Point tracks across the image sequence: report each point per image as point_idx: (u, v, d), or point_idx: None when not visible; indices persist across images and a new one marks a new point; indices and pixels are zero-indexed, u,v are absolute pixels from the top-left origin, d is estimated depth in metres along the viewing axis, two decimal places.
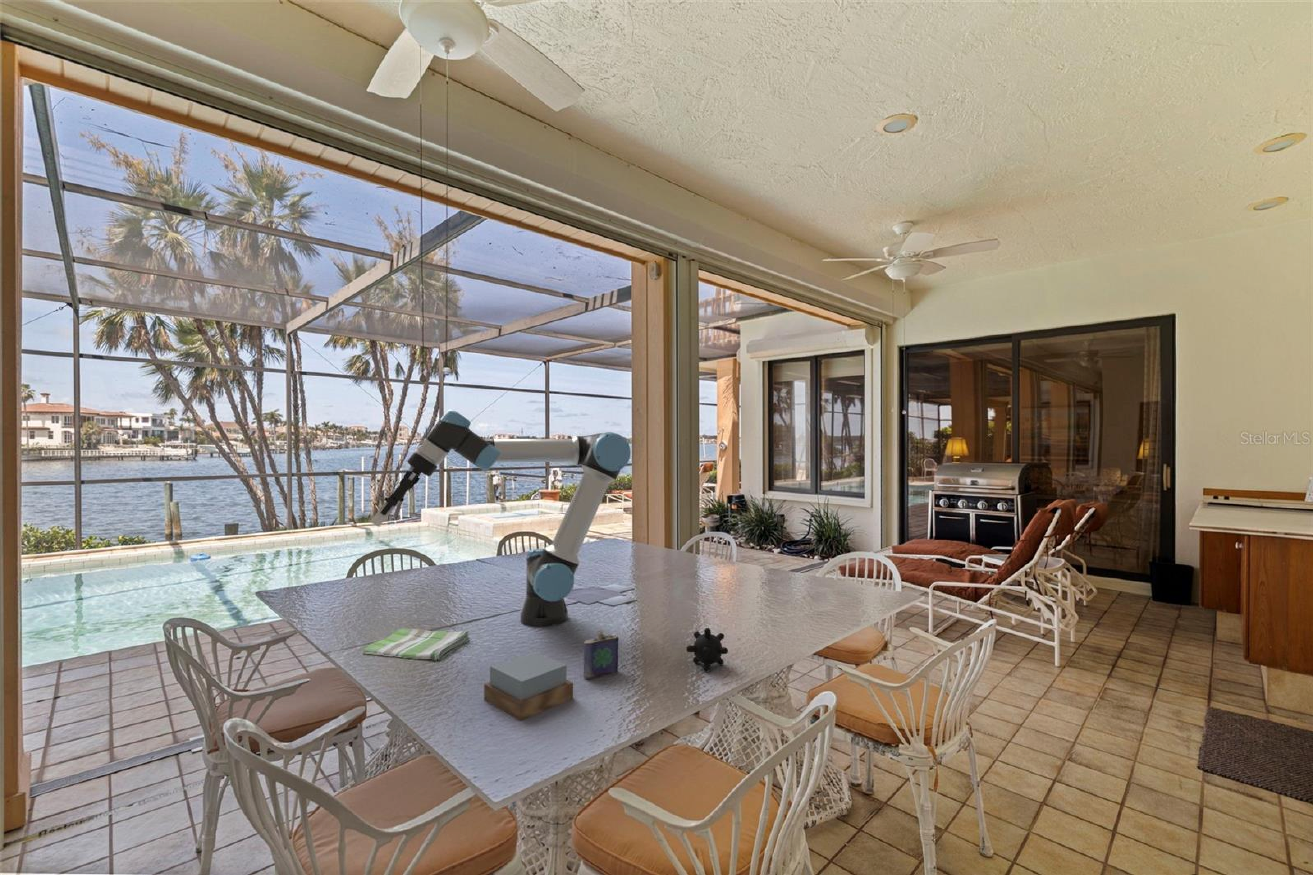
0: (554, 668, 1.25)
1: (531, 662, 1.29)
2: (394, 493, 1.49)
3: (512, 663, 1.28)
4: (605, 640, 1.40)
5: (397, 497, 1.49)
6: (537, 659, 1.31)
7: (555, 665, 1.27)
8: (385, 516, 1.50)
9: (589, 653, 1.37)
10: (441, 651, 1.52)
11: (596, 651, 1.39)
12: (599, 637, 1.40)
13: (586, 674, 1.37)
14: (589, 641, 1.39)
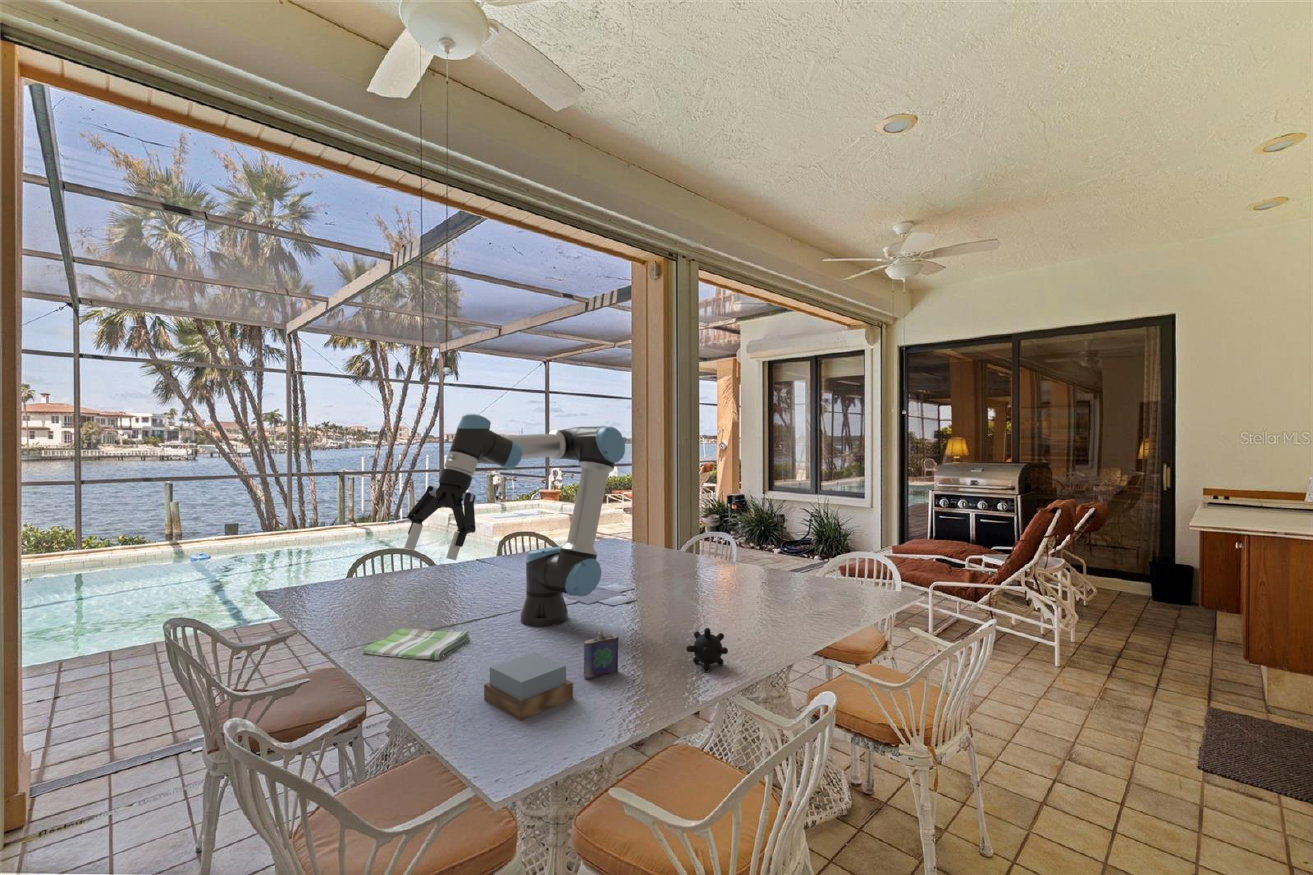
0: (553, 668, 1.25)
1: (531, 662, 1.28)
2: (469, 521, 1.36)
3: (511, 663, 1.28)
4: (605, 640, 1.40)
5: (472, 524, 1.37)
6: (536, 659, 1.30)
7: (554, 666, 1.27)
8: (459, 547, 1.37)
9: (589, 653, 1.37)
10: (441, 651, 1.52)
11: (596, 651, 1.39)
12: (599, 637, 1.40)
13: (586, 674, 1.37)
14: (589, 641, 1.39)
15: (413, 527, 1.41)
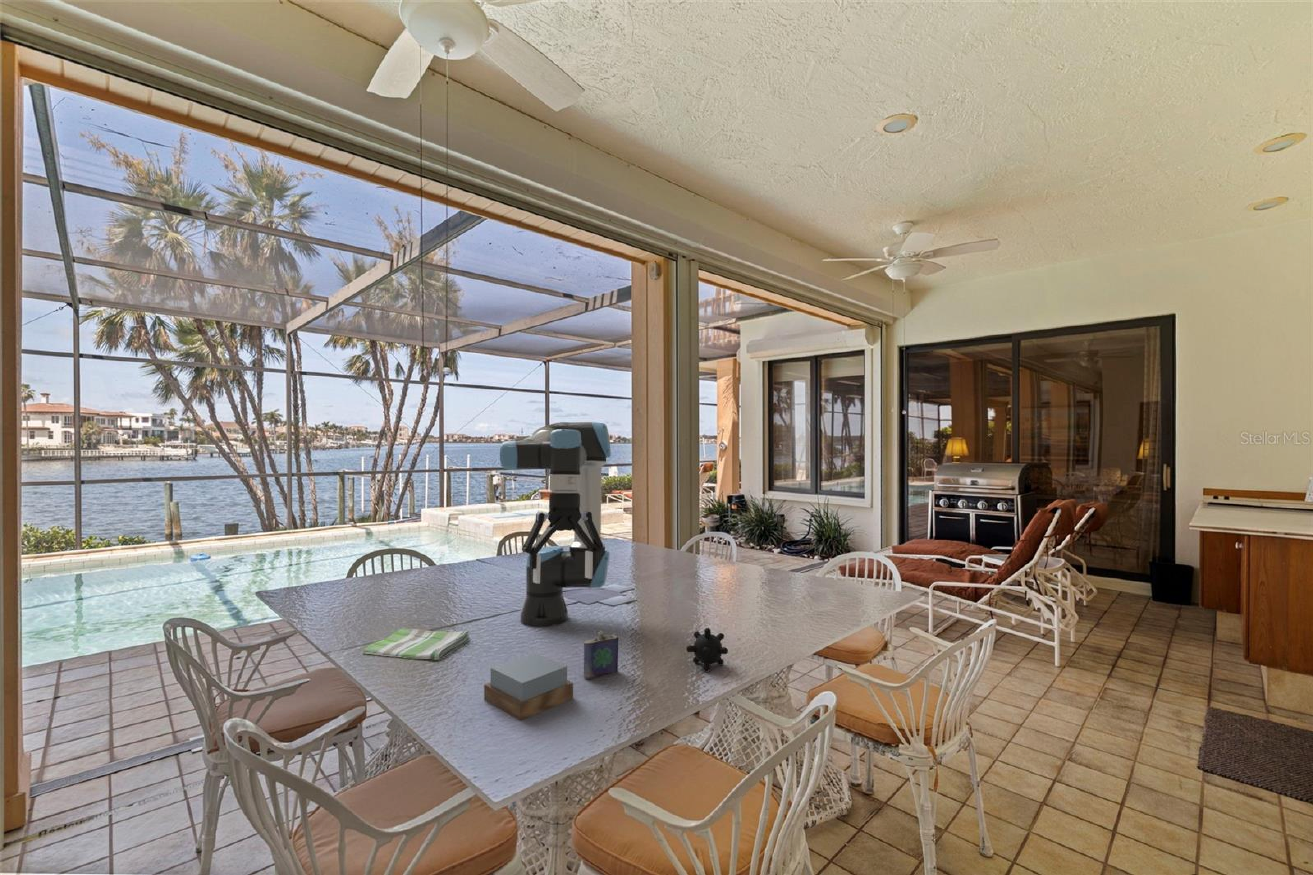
0: (554, 669, 1.25)
1: (531, 663, 1.28)
2: None
3: (512, 664, 1.28)
4: (605, 640, 1.40)
5: None
6: (537, 660, 1.30)
7: (555, 666, 1.27)
8: None
9: (589, 653, 1.37)
10: (441, 651, 1.52)
11: (596, 651, 1.39)
12: (599, 637, 1.40)
13: (586, 674, 1.37)
14: (589, 641, 1.39)
15: (539, 560, 1.33)
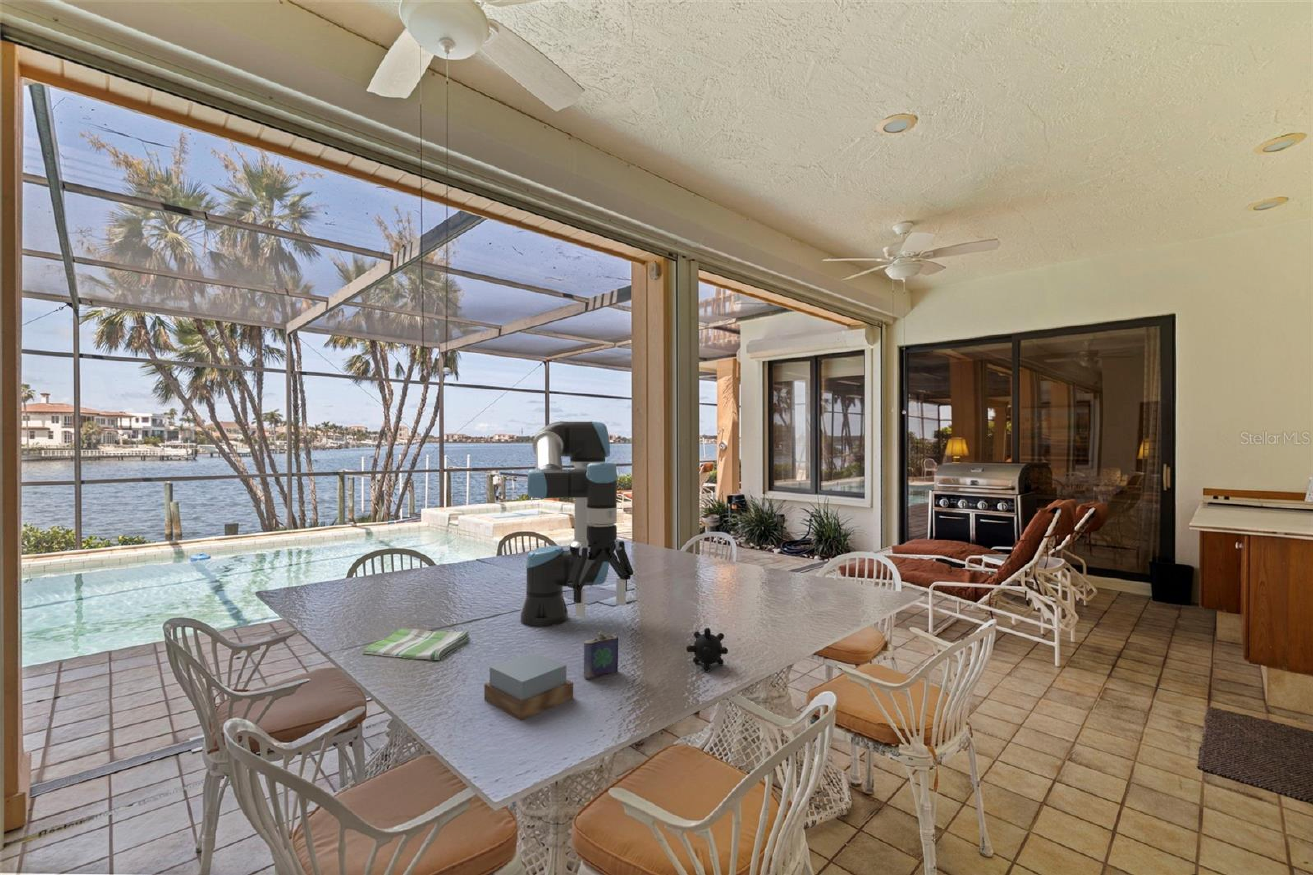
0: (554, 668, 1.25)
1: (531, 662, 1.29)
2: None
3: (511, 663, 1.28)
4: (605, 640, 1.40)
5: None
6: (536, 659, 1.31)
7: (555, 665, 1.27)
8: None
9: (589, 653, 1.37)
10: (441, 651, 1.52)
11: (596, 651, 1.39)
12: (599, 637, 1.40)
13: (586, 674, 1.37)
14: (589, 641, 1.39)
15: (584, 594, 1.35)
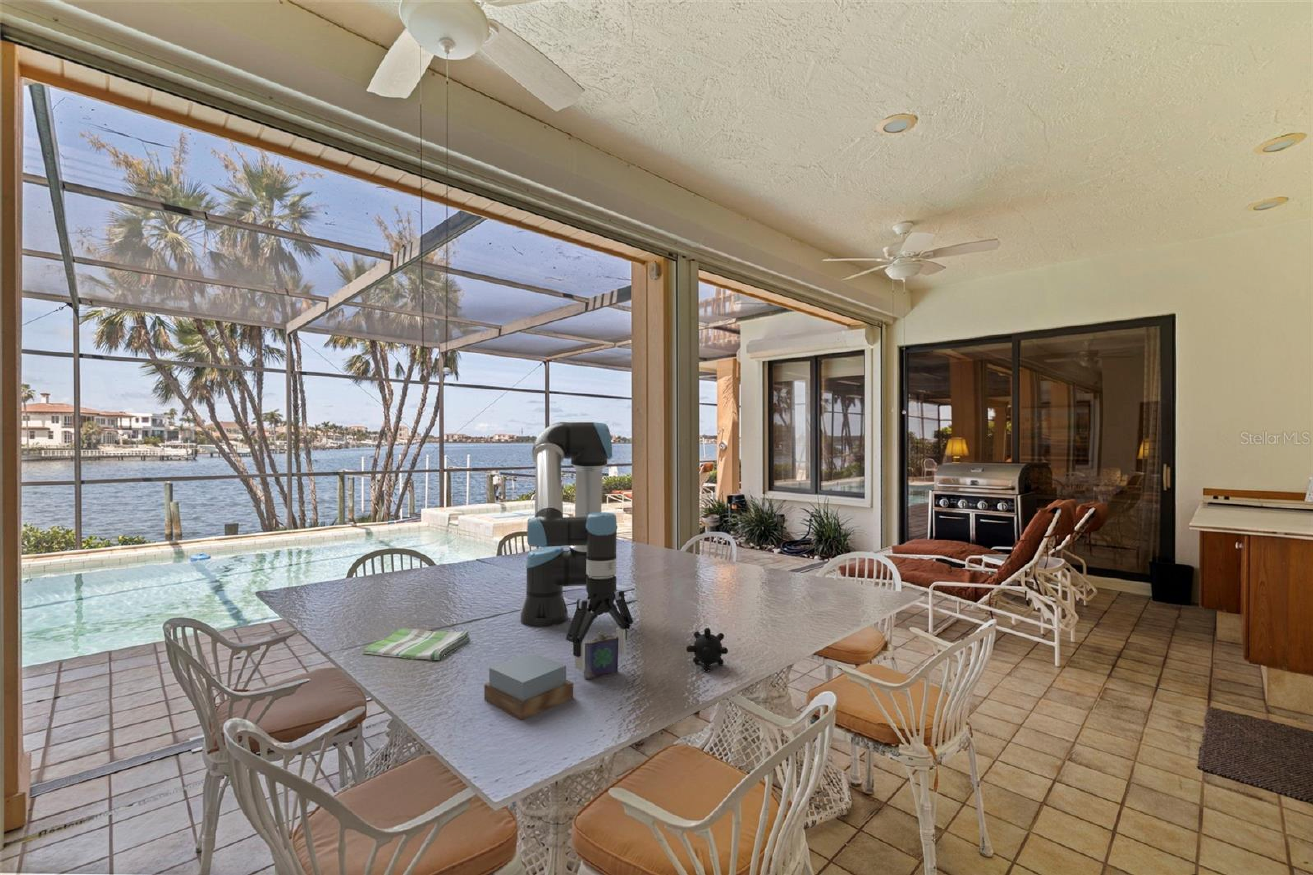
0: (554, 668, 1.26)
1: (530, 663, 1.29)
2: None
3: (511, 664, 1.28)
4: (605, 640, 1.40)
5: None
6: (536, 659, 1.30)
7: (555, 665, 1.27)
8: None
9: (589, 653, 1.37)
10: (441, 651, 1.52)
11: (596, 651, 1.39)
12: (599, 637, 1.40)
13: (586, 674, 1.37)
14: (589, 641, 1.39)
15: (584, 647, 1.34)
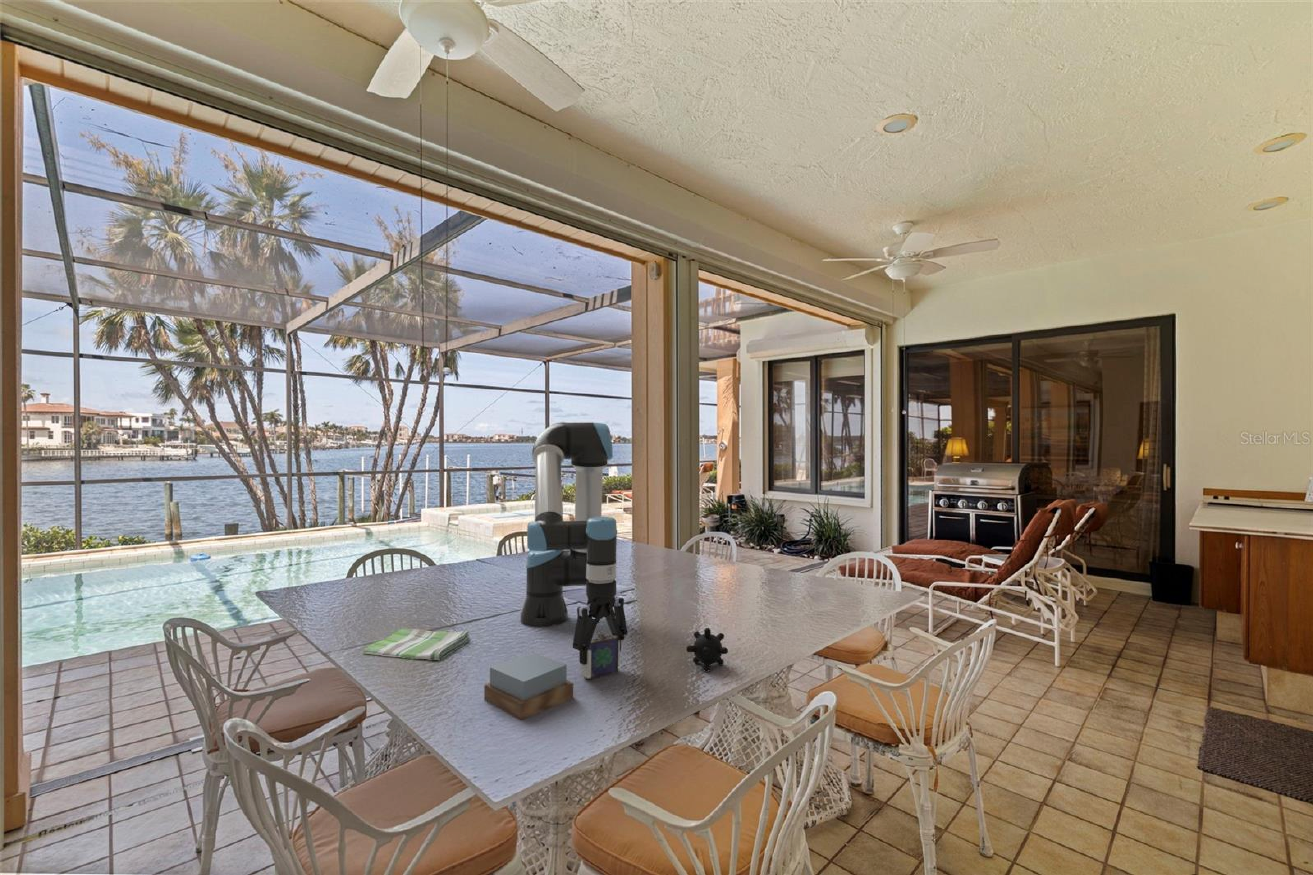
0: (554, 667, 1.26)
1: (531, 662, 1.29)
2: None
3: (511, 663, 1.28)
4: (605, 640, 1.40)
5: None
6: (536, 659, 1.31)
7: (555, 665, 1.28)
8: None
9: None
10: (441, 651, 1.51)
11: (596, 651, 1.39)
12: (599, 637, 1.40)
13: None
14: None
15: (590, 655, 1.36)
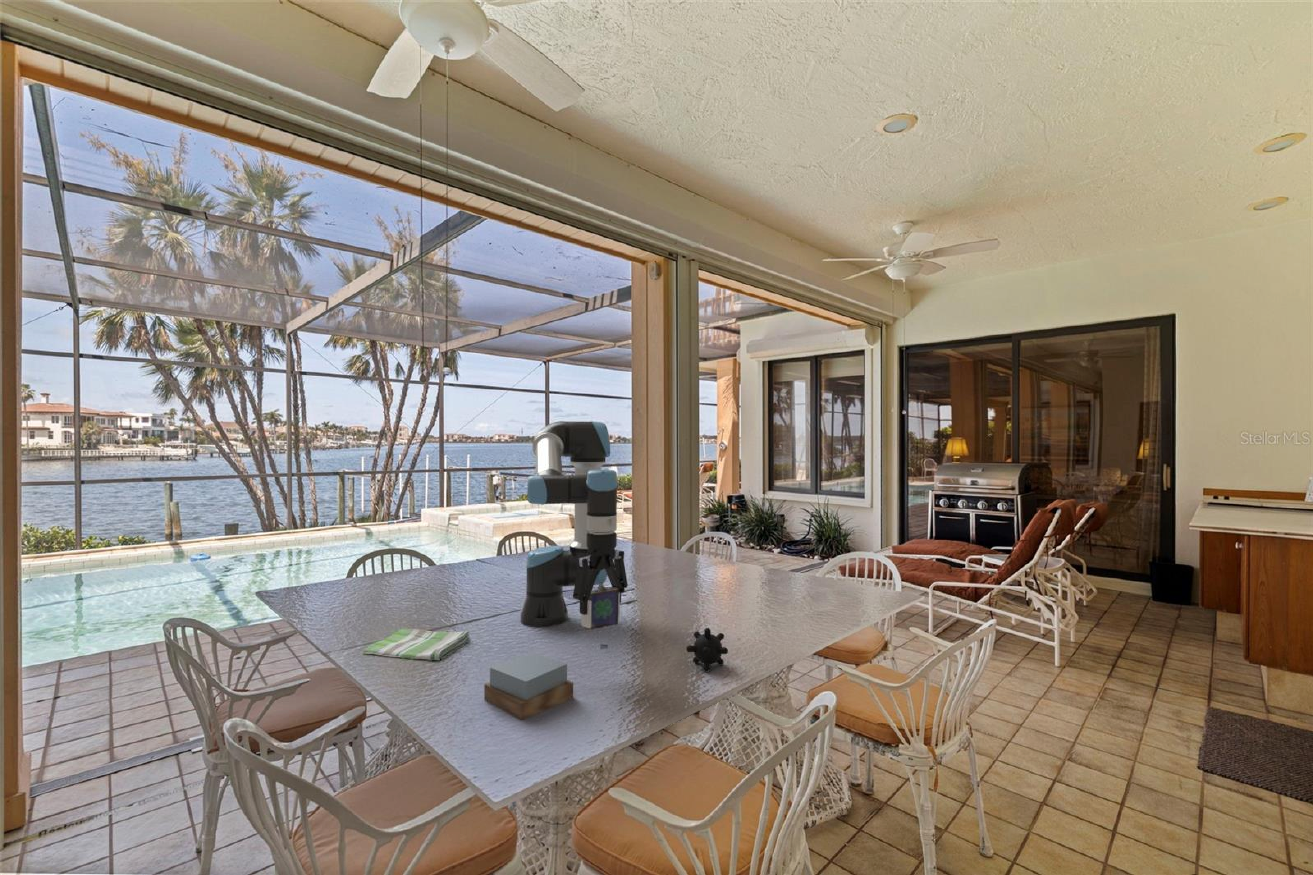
0: (555, 667, 1.26)
1: (531, 662, 1.29)
2: None
3: (511, 663, 1.28)
4: (605, 591, 1.40)
5: None
6: (536, 659, 1.31)
7: (555, 664, 1.28)
8: None
9: None
10: (441, 651, 1.51)
11: (596, 602, 1.39)
12: (599, 588, 1.40)
13: None
14: None
15: (590, 605, 1.37)
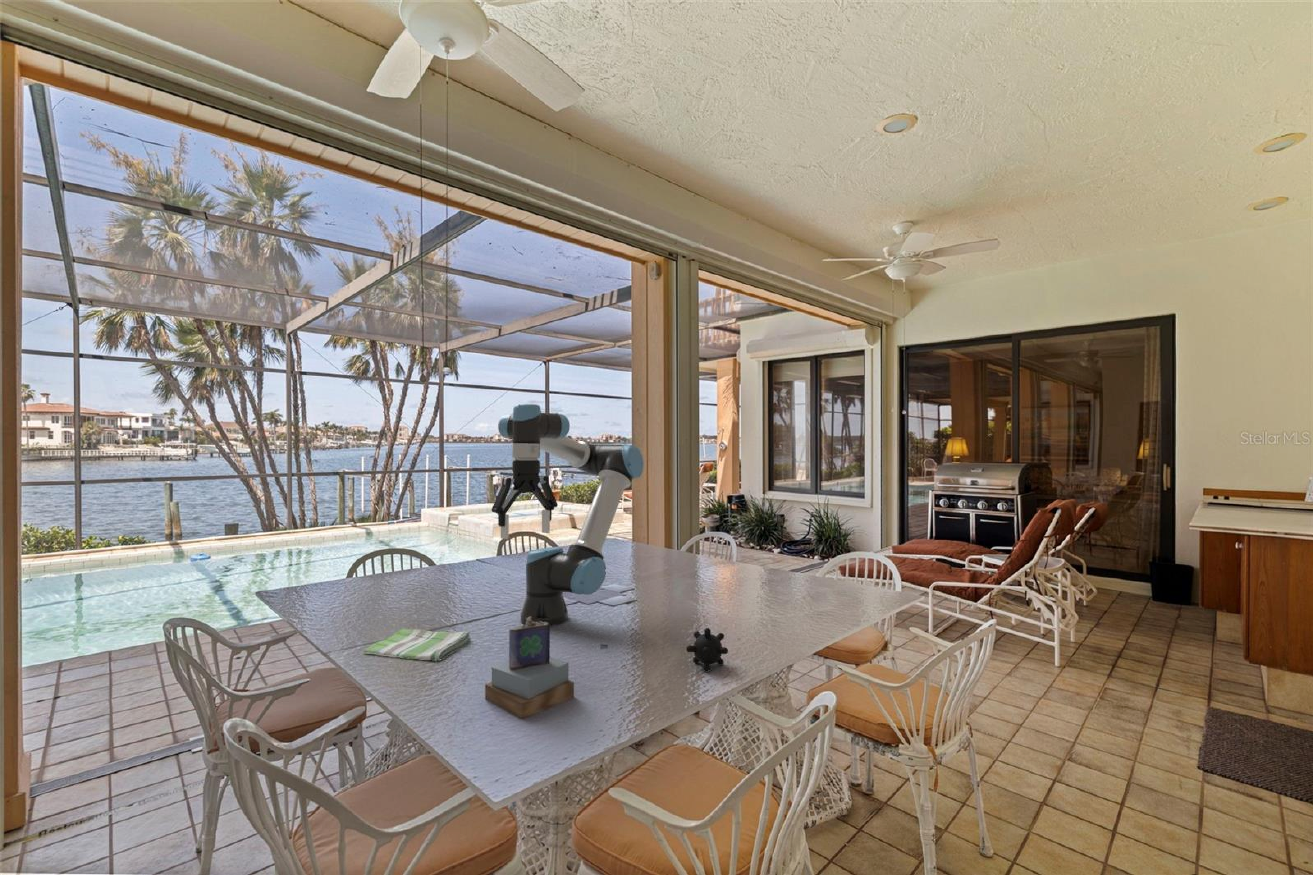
0: (557, 666, 1.27)
1: None
2: None
3: None
4: (533, 627, 1.27)
5: None
6: None
7: (557, 663, 1.29)
8: None
9: (514, 641, 1.25)
10: (441, 652, 1.51)
11: (522, 639, 1.26)
12: (527, 623, 1.27)
13: (511, 663, 1.25)
14: (515, 628, 1.26)
15: (507, 519, 1.51)
